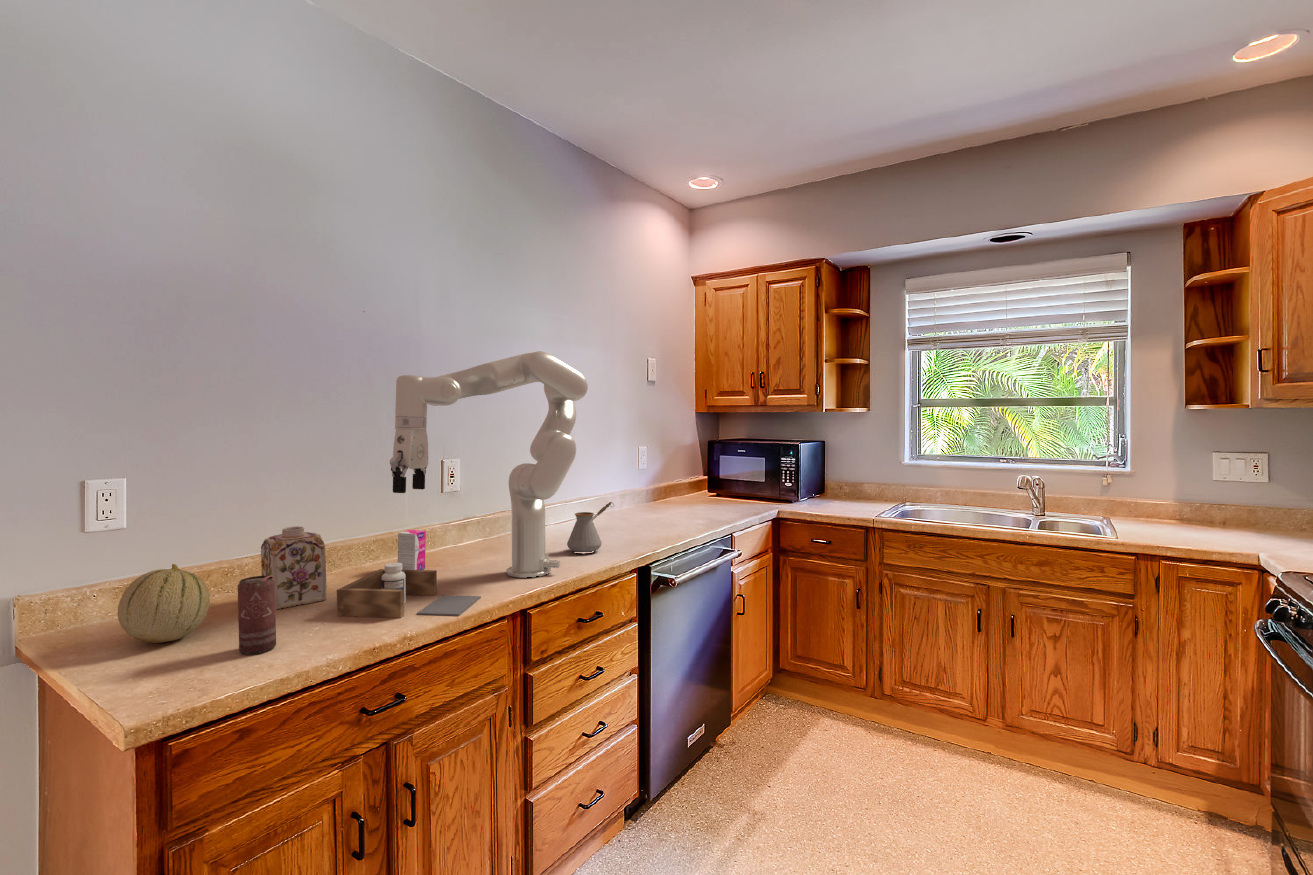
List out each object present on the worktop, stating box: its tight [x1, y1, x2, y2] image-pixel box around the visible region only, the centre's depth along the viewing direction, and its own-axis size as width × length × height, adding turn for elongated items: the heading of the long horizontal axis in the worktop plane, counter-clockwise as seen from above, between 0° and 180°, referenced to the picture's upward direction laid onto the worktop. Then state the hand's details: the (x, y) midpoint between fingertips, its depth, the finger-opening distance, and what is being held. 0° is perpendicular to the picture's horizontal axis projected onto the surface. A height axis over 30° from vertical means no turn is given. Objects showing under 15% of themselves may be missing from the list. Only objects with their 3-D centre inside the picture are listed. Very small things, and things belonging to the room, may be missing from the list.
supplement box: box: [397, 529, 427, 570], centre depth 184 cm, size 6×6×12 cm
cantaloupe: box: [117, 563, 211, 644], centre depth 127 cm, size 15×15×15 cm
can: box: [237, 575, 277, 656], centre depth 122 cm, size 6×6×14 cm
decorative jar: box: [260, 525, 327, 611], centre depth 154 cm, size 12×12×18 cm
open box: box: [336, 568, 438, 619], centre depth 152 cm, size 15×19×6 cm
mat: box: [416, 594, 482, 617], centre depth 150 cm, size 10×14×1 cm
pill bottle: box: [381, 562, 407, 605], centre depth 151 cm, size 5×5×10 cm
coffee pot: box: [566, 501, 615, 552], centre depth 213 cm, size 21×12×15 cm, turn 148°
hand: (409, 490), depth 160 cm, fingers open, 9 cm apart
